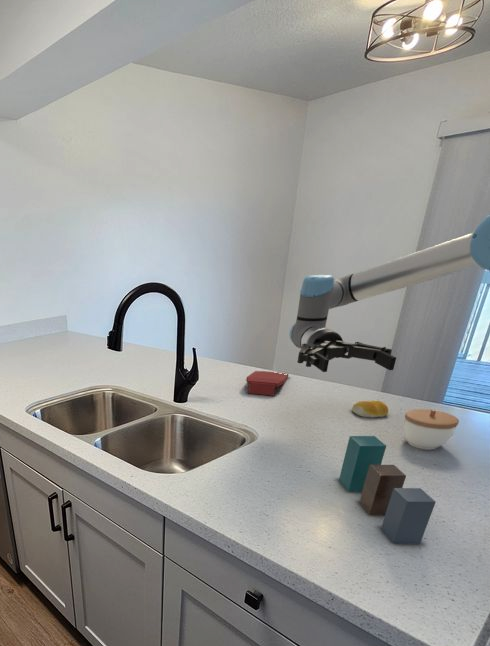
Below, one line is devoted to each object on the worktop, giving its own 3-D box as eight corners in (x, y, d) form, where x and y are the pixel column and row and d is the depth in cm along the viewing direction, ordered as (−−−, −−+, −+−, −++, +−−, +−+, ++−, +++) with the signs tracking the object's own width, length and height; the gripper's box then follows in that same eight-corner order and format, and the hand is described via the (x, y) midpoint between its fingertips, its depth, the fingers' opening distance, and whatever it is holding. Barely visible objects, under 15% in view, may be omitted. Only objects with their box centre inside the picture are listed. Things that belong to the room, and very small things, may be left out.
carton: (254, 383, 174) (242, 392, 153) (255, 370, 172) (244, 378, 151) (286, 386, 168) (279, 396, 147) (288, 373, 166) (281, 382, 146)
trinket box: (423, 456, 106) (435, 420, 101) (387, 439, 115) (396, 405, 111) (459, 450, 107) (473, 415, 103) (421, 433, 117) (432, 400, 113)
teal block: (362, 480, 98) (374, 435, 93) (373, 492, 93) (386, 445, 88) (338, 480, 98) (349, 435, 93) (348, 491, 94) (360, 446, 89)
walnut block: (382, 502, 89) (393, 464, 85) (393, 515, 85) (406, 475, 81) (358, 502, 90) (369, 464, 86) (369, 515, 86) (380, 475, 82)
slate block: (406, 529, 81) (420, 488, 77) (420, 544, 77) (436, 501, 73) (380, 528, 82) (393, 487, 78) (393, 543, 78) (407, 501, 74)
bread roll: (393, 416, 128) (396, 403, 126) (365, 419, 127) (368, 406, 125) (372, 407, 135) (375, 394, 134) (346, 410, 134) (349, 397, 133)
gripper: (369, 356, 113) (416, 380, 94) (269, 359, 116) (296, 383, 97) (376, 326, 110) (426, 345, 91) (273, 330, 113) (301, 349, 94)
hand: (359, 365), depth 94 cm, fingers open, 13 cm apart
